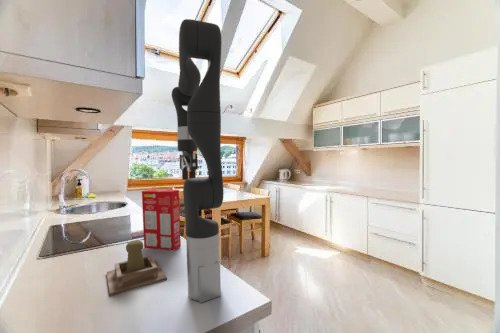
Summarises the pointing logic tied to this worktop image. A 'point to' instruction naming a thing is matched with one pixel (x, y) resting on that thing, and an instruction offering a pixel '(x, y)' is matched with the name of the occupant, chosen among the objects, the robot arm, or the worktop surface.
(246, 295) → the worktop surface
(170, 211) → the food packaging
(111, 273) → the shaker holder
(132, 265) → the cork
